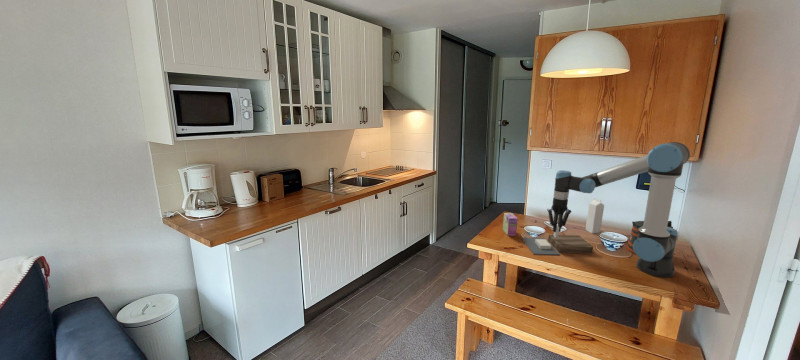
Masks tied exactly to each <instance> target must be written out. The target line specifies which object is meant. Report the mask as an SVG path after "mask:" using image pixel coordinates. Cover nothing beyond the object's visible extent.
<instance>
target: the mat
mask: <svg viewBox="0 0 800 360" xmlns="http://www.w3.org/2000/svg"><path fill="white" fill-rule="evenodd" d="M535 239H546V237H521V240H522V241H523V242H524V244H525V245H526V246H527V247H528V249H529V250H530V252H531V253H532V254H533V255H537V256H538V255H540V256H560V254H561V253H559V252H558V251H557V250H556V249H555V248H554V247H553V246H552V245H551V244H550V242H549V241H548V240H547V242H548V243H549V244H550V245H551V249H540V248H539V247H538V245H537V244H536V243H535Z"/></svg>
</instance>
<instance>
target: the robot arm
mask: <svg viewBox="0 0 800 360" xmlns="http://www.w3.org/2000/svg"><path fill="white" fill-rule="evenodd" d="M690 157H691V151H690V150H689V148H688V146H687V145H686V144H684V143H682V142H677V141H670V142H669V141H668V142H666V143H665V142H664V143H661V144H658V145H656V146H654V147H653V148H652V149H650V150H649V152H648V153H647V155H643V156H640V157H637V158H635V159H632V160H629V161H626V162H623V163H620V164H617V165H615V166H611V167H609V168H606V169H605V168H604V169H602V170H600V171H598V172H595V173H590V174H588V175H586V176H582V177H581V176H579V177H578V176H574V175H573V174H572V172H571V171H570V170H557V171H556V174H555V178H554V179H555V181H554V190H553V198H552V199H553V200H552V205H551V207H550V208H547V209H546V210H547V211H546V212H547V213H548V219H549V224H550V225H551V226H552V232H553V235H554V237H555V238H558V235H560V233H561V230H562V228H563V227H565V226H566V224H567V221H568V218H569V216H570V214H571V213H572V210H571V209H569V208H568V202H569V194H570V190H571V191H574V192H579V193H583V194H592V193H594V190H595V189H596V188H600V187H601V186H605V185H608V184H610V183H611V184H612V183H615V182H617V181H621V180H624V179H627V178H631V177H634V176H637V175H640V174H643V173H648V174H649V176H650V184H649V189H648V195H647V201H646V207H645V213H644V219H643V221H644V224H643V226H642V227H640V228H639V230H638V236H637V239H636V240H635V241H634V243H633V250H634V252H635V253H634V254H636V256H637V257H638V260H637V261H636V268H637V269H638V270H640V271H641V272H643V273H645V274H648V275H651V276H655V277H660V278H672V277H674V275H675V265H674V261H673V257H674V253H675V249H676V246H677V245H676V244H677V241H678V239H677V238H678V237H679V236H678V235H679V234H678V233H679V231H678V230H677V229H675V228H674V227H673V228H670V227H667V225H668V221H669V219H670V214H671V208H672V202H673V197H674V191H675V186H676V181H677V179H678V178H680V177H682V174H683V173H682V172H683V167H684V165H685V164H686V163H687V162H688V161H689V159H690Z"/></svg>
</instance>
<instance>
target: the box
mask: <svg viewBox="0 0 800 360" xmlns="http://www.w3.org/2000/svg"><path fill="white" fill-rule="evenodd" d="M518 219H519V218H518V217H517V216H516V215H515V214H514V213H513V212H504V213H503V222H502V230H503V232H504V233H505V234H506V236H509V237H510V236H511V237H514V236H515V237H516V236H517V229H518V222H519V221H518Z"/></svg>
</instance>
